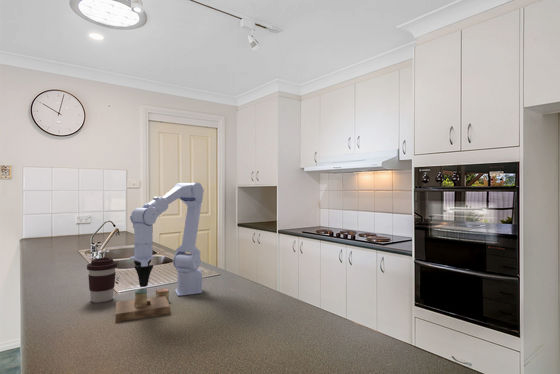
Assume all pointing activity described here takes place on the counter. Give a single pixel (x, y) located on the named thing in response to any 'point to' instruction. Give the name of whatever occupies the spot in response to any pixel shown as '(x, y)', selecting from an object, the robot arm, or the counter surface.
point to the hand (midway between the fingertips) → (143, 283)
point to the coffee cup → (101, 279)
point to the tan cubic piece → (163, 293)
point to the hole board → (142, 309)
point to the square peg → (140, 298)
